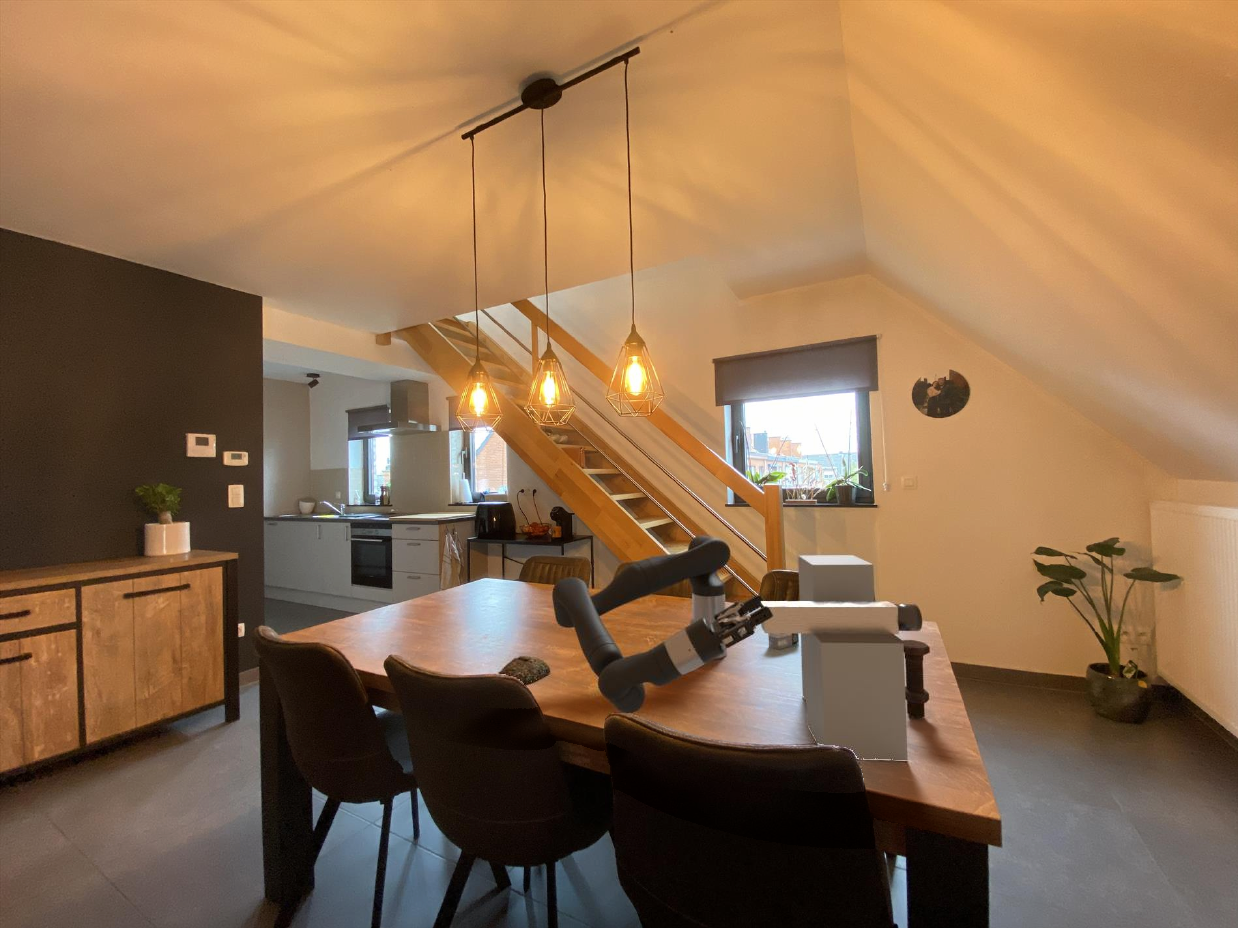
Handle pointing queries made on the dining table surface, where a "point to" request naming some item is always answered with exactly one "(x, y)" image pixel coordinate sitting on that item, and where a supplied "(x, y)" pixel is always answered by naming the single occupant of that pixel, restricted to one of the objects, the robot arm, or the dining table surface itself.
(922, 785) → the dining table surface
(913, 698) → the bolt
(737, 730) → the dining table surface
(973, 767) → the dining table surface
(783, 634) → the label tape box
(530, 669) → the dark brown domed lump
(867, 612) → the knob shaft
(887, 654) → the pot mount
